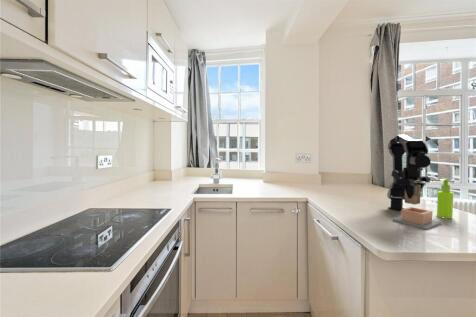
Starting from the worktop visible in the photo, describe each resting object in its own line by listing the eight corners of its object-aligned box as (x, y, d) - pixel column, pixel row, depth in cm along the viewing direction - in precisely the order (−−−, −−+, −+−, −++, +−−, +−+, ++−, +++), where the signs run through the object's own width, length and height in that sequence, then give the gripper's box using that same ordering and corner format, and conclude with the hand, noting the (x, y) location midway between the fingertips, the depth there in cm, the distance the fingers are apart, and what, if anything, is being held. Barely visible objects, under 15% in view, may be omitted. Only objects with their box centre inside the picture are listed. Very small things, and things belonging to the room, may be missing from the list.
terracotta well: (407, 216, 119) (408, 204, 119) (441, 224, 107) (441, 211, 106) (392, 220, 112) (393, 208, 112) (426, 229, 100) (427, 216, 100)
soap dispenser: (433, 216, 118) (434, 178, 117) (440, 214, 121) (442, 177, 119) (447, 219, 113) (448, 180, 111) (454, 217, 115) (456, 179, 114)
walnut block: (409, 201, 113) (410, 183, 112) (420, 203, 109) (420, 184, 108) (404, 202, 111) (405, 184, 110) (415, 204, 107) (415, 185, 106)
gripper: (405, 163, 120) (404, 192, 121) (384, 165, 112) (383, 196, 113) (431, 165, 110) (429, 196, 111) (409, 167, 102) (408, 201, 103)
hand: (412, 197), depth 109 cm, fingers closed on walnut block, 4 cm apart
